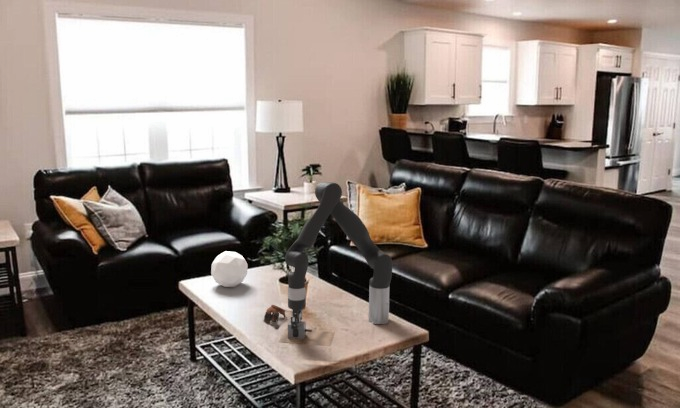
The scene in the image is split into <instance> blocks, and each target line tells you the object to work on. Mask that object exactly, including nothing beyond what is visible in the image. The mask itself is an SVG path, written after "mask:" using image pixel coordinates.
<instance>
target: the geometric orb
mask: <svg viewBox="0 0 680 408" xmlns="http://www.w3.org/2000/svg"><path fill="white" fill-rule="evenodd" d="M248 266H249V264H248V263H247V261H246V259H245V258H244V257H243V255H242V254H240V253H238V252H236V251H227V250H225V251H223V252H221V253H220V254H218V255H217V256H216V257H215V258H214V260H213V261H212V263H211V267H210V268H211V270H210V274H211V276H212V278H213V280H214V282H215V283H216V284H217V285H221V286H222V287H225V288H235V287H237V286H238V285H239V284H241V283H243V282H244V280H245V278H246V277H247V276H248Z"/></svg>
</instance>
